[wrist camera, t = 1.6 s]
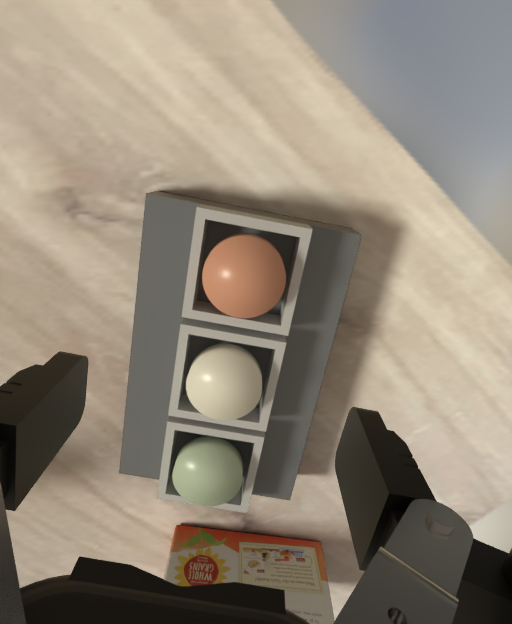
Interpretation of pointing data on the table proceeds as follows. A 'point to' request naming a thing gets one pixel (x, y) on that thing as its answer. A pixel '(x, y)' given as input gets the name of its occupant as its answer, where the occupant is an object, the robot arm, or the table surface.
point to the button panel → (229, 341)
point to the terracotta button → (244, 275)
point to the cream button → (224, 382)
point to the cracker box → (254, 566)
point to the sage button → (208, 471)
